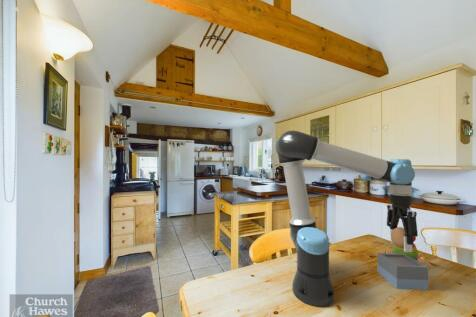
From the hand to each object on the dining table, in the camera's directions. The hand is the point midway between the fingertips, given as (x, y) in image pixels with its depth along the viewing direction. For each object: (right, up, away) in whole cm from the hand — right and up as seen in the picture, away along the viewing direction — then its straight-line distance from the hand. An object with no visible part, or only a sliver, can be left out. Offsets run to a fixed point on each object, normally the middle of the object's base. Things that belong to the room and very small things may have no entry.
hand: (401, 247), depth 86 cm
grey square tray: (0, -14, 0) cm, 14 cm away
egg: (0, 0, 0) cm, 0 cm away
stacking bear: (+12, -15, +12) cm, 23 cm away
